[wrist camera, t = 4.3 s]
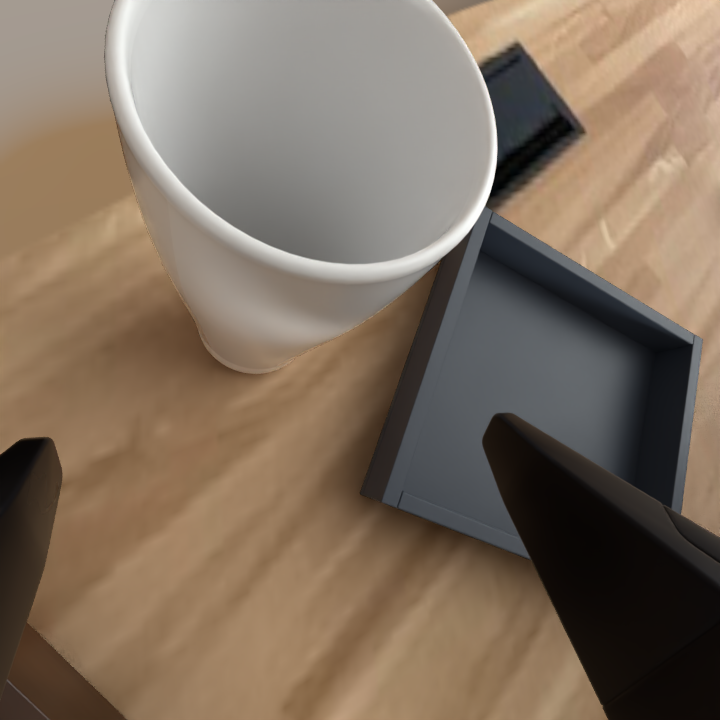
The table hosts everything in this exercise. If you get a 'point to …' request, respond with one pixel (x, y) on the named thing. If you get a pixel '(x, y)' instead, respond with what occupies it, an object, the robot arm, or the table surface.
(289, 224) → the drinking glass
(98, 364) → the table surface
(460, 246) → the tray
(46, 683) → the control box
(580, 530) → the robot arm
